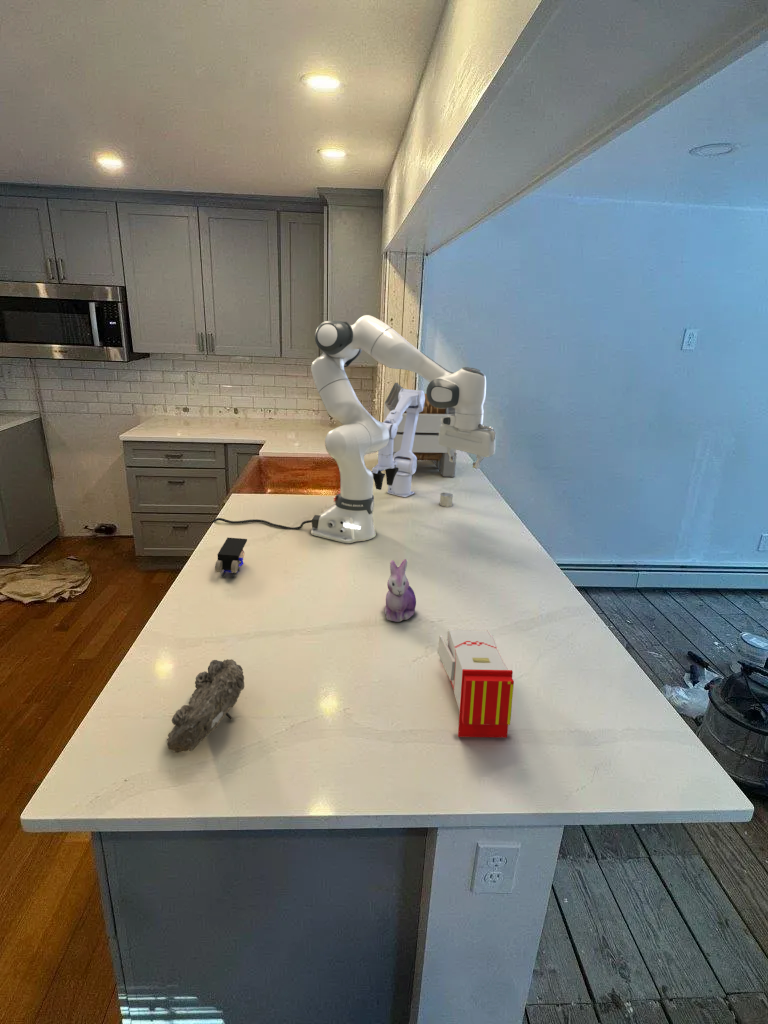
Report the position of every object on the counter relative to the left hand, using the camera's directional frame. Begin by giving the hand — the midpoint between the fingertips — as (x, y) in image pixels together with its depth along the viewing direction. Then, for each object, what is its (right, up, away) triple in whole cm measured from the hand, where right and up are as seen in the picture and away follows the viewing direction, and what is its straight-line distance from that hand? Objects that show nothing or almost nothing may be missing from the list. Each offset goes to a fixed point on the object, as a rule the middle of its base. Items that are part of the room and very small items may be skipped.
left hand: (464, 464), depth 181 cm
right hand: (-25, -5, +44) cm, 51 cm away
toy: (-8, -53, -62) cm, 82 cm away
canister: (0, -12, +52) cm, 53 cm away
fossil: (-58, -54, -73) cm, 108 cm away
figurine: (-21, -42, -33) cm, 57 cm away
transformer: (-9, +7, +104) cm, 105 cm away
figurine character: (-70, -32, -13) cm, 78 cm away
